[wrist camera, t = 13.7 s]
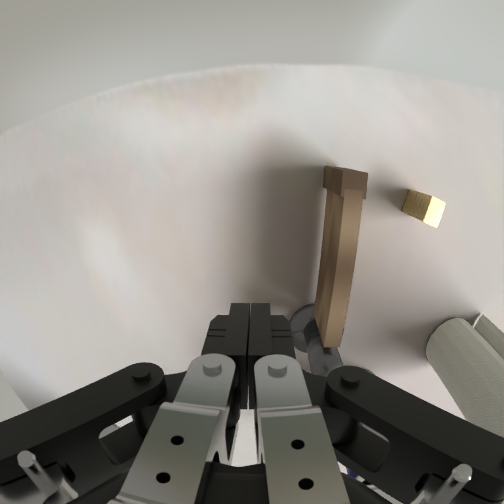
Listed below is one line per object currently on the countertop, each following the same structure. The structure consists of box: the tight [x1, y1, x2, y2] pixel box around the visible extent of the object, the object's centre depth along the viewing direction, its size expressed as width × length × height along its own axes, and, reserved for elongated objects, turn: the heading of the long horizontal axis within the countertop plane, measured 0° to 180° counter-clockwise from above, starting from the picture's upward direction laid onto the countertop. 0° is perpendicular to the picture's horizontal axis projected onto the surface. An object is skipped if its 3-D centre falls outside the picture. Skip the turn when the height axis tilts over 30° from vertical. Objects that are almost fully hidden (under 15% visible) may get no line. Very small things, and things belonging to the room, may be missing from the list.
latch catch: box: [402, 189, 446, 228], centre depth 22 cm, size 2×1×4 cm
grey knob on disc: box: [290, 304, 344, 377], centre depth 24 cm, size 5×5×7 cm
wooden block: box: [314, 166, 368, 347], centre depth 22 cm, size 12×2×6 cm, turn 178°
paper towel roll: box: [426, 315, 504, 438], centre depth 18 cm, size 7×6×21 cm
